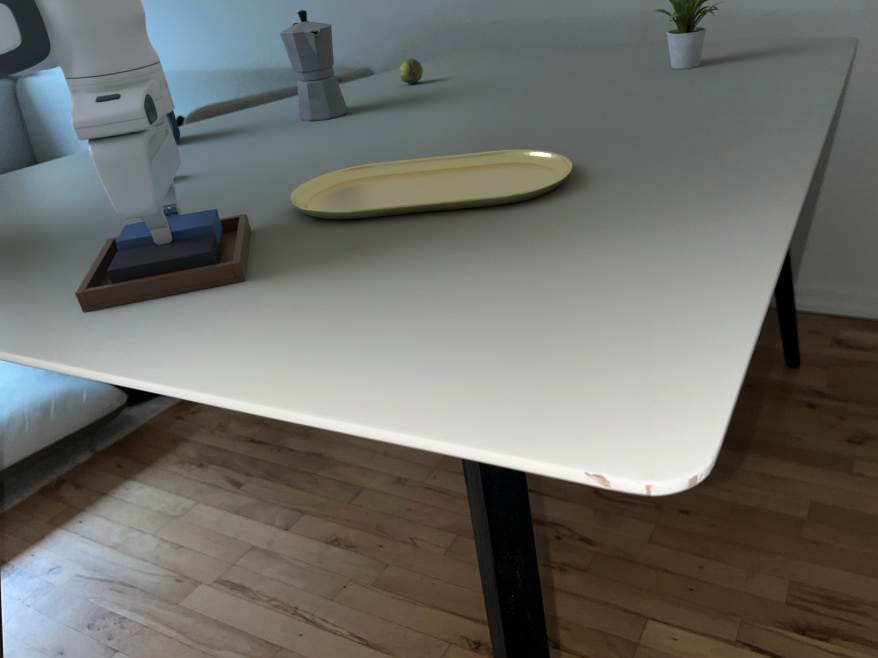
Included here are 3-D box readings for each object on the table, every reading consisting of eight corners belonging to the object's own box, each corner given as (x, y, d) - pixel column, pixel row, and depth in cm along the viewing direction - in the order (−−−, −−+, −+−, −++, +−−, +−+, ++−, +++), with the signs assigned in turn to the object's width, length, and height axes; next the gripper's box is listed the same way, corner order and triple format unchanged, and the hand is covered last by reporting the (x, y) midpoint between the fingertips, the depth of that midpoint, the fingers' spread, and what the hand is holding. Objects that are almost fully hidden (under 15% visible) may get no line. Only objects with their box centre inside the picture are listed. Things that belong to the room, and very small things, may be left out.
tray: (82, 312, 72) (74, 293, 71) (113, 254, 85) (107, 238, 84) (245, 280, 74) (239, 262, 73) (251, 229, 87) (246, 213, 86)
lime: (398, 86, 156) (394, 61, 153) (412, 81, 159) (408, 56, 156) (414, 86, 153) (410, 61, 151) (428, 81, 157) (425, 56, 154)
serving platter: (578, 202, 82) (578, 188, 82) (275, 231, 86) (271, 218, 85) (568, 155, 98) (567, 143, 98) (312, 180, 102) (310, 169, 101)
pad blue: (123, 263, 78) (114, 241, 77) (132, 245, 83) (124, 224, 82) (219, 245, 80) (212, 223, 78) (223, 229, 84) (216, 208, 83)
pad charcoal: (115, 293, 73) (106, 270, 72) (125, 272, 78) (117, 251, 77) (218, 274, 75) (210, 251, 74) (221, 254, 80) (214, 233, 78)
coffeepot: (358, 115, 135) (338, 7, 126) (308, 126, 132) (284, 16, 123) (334, 103, 148) (314, 4, 138) (288, 113, 144) (264, 12, 135)
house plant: (710, 75, 131) (714, -28, 122) (636, 75, 138) (635, -23, 129) (734, 59, 140) (740, -38, 132) (664, 59, 148) (666, -33, 139)
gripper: (111, 87, 82) (153, 207, 89) (65, 126, 64) (122, 271, 71) (170, 78, 83) (207, 197, 90) (140, 114, 65) (189, 258, 72)
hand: (169, 231), depth 80 cm, fingers closed on pad blue, 5 cm apart
